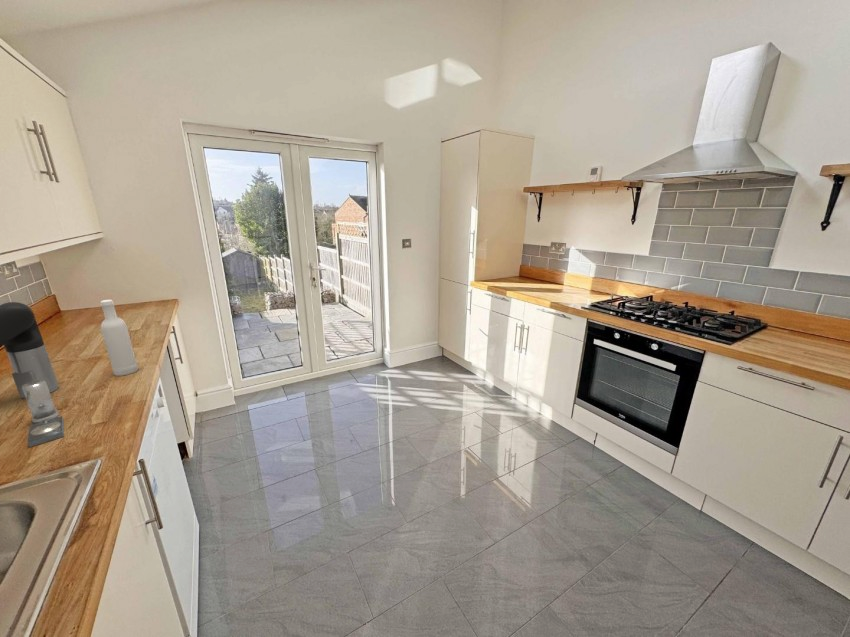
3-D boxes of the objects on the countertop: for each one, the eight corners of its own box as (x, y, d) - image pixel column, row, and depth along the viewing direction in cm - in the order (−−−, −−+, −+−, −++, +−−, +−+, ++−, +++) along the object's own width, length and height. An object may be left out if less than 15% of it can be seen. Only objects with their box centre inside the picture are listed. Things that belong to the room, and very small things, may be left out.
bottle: (142, 370, 149) (123, 299, 140) (119, 377, 142) (97, 304, 133) (133, 366, 153) (114, 297, 144) (110, 373, 146) (89, 301, 137)
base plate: (63, 436, 106) (62, 431, 105) (29, 447, 101) (27, 442, 100) (63, 420, 114) (62, 415, 113) (31, 429, 109) (29, 424, 109)
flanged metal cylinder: (48, 422, 113) (35, 387, 109) (27, 423, 112) (13, 389, 109) (64, 412, 118) (52, 379, 115) (44, 413, 118) (32, 380, 114)
